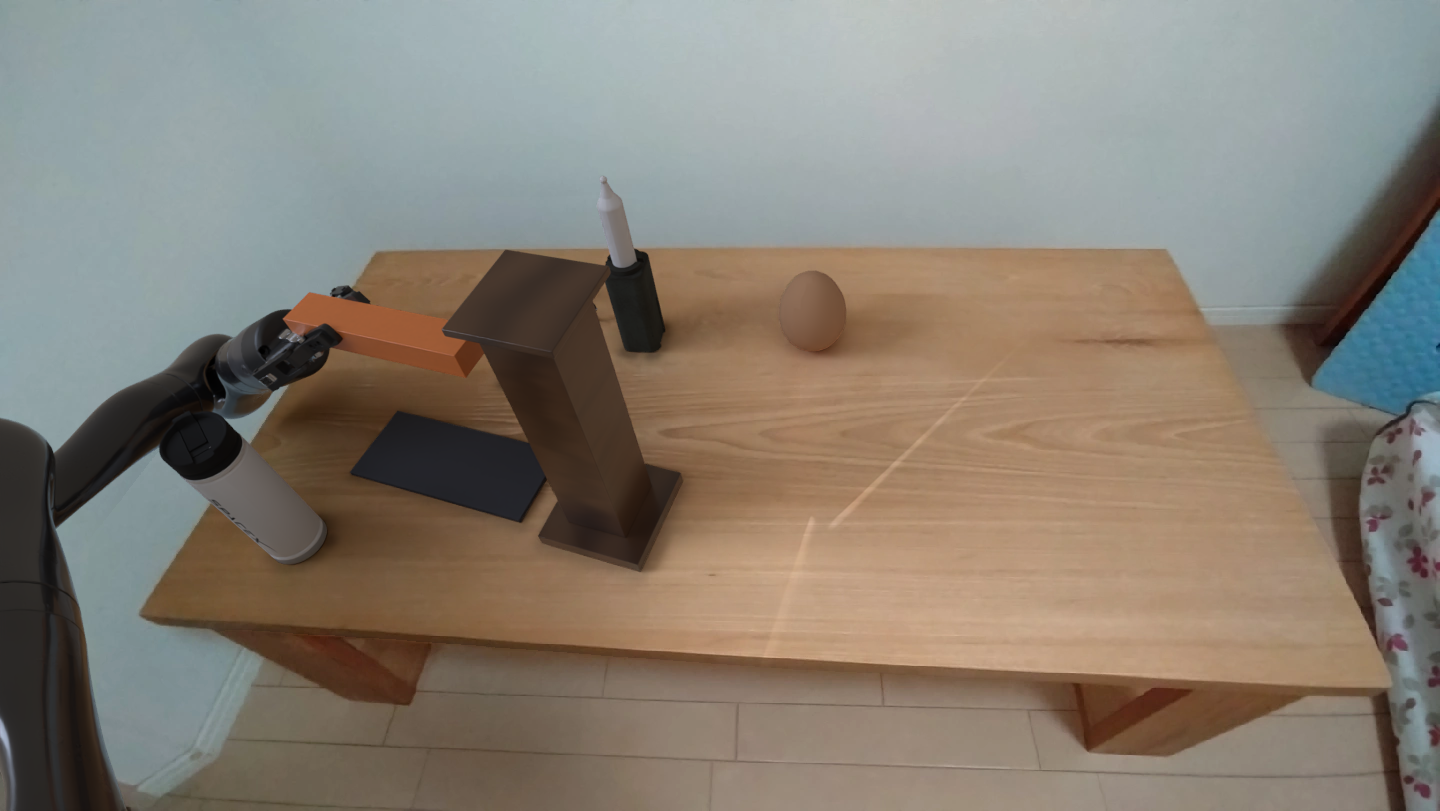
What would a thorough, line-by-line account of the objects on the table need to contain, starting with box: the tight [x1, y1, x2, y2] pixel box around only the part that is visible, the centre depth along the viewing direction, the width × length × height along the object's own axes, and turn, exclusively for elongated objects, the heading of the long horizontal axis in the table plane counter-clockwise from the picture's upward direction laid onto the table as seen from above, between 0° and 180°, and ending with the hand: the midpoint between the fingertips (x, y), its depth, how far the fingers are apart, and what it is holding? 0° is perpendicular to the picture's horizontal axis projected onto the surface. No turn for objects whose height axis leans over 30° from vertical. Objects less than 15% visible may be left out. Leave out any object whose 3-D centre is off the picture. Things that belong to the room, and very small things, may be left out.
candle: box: [596, 175, 666, 353], centre depth 93 cm, size 5×5×25 cm
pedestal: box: [442, 249, 684, 573], centre depth 74 cm, size 12×12×32 cm
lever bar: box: [283, 291, 485, 379], centre depth 74 cm, size 20×4×3 cm, turn 70°
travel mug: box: [158, 411, 328, 565], centre depth 81 cm, size 6×7×20 cm
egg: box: [778, 270, 847, 352], centre depth 95 cm, size 8×8×11 cm
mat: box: [349, 410, 547, 524], centre depth 92 cm, size 24×10×1 cm, turn 70°
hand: (347, 316), depth 74 cm, fingers closed on lever bar, 4 cm apart
